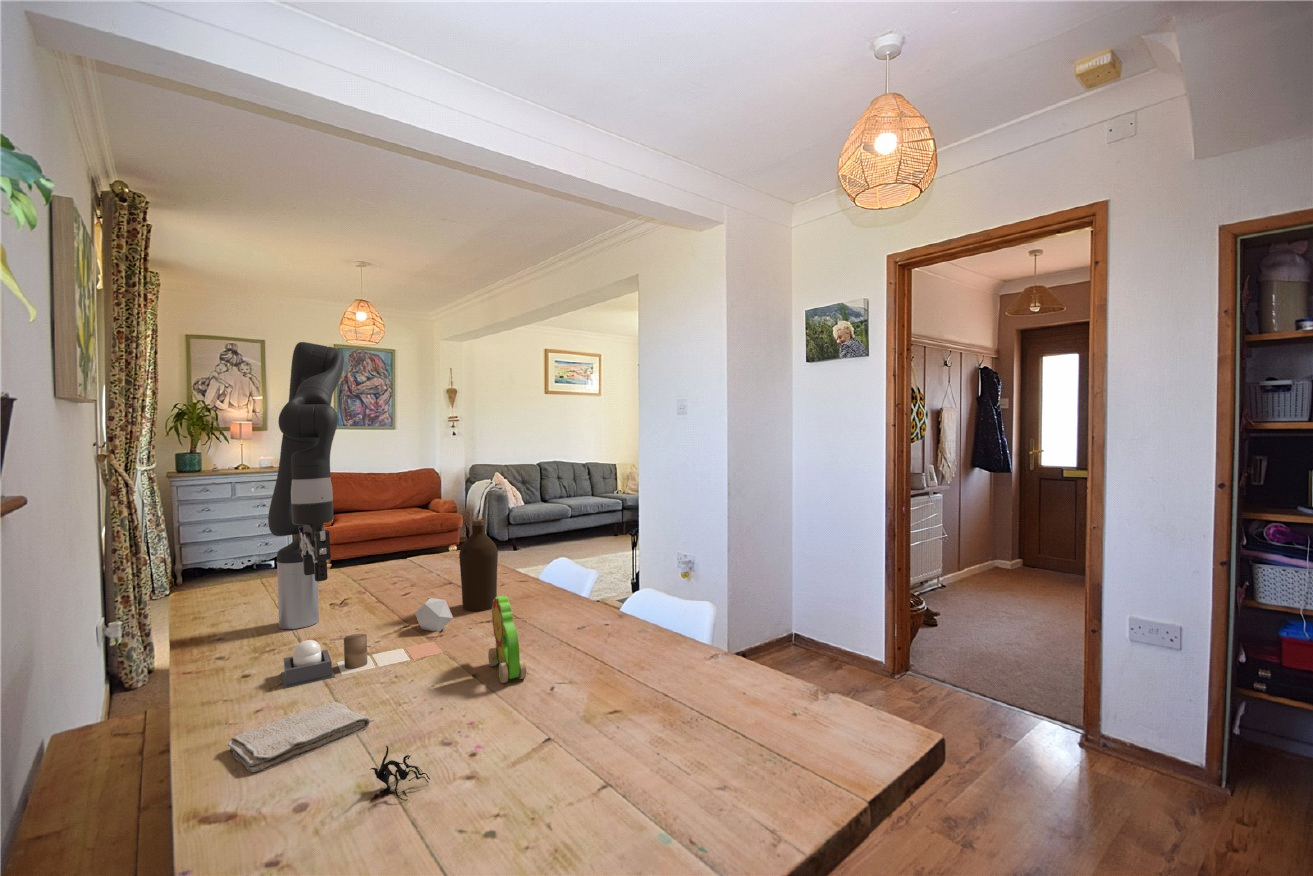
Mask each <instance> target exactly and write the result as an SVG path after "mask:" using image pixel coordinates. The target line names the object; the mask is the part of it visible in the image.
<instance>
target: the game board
mask: <svg viewBox="0 0 1313 876" xmlns="http://www.w3.org/2000/svg"><path fill="white" fill-rule="evenodd" d="M405 650H406V651H407V652H405ZM405 650H404V649H403V648H397V649H393V650H389V651H382V652H378V653H374V654H371V655H372V657H373V659H374V661H375V663H376V665H377V667H378V668H380V667H385V666H390V665H394V664H400V663H403V662H408V661H411V658H412V659H413V660H417V659H422V658H426V657H430V656H435V655H439V654H443V653H444V651H442V649H441V648H440V647H439V646H438V645H437V644H436V643H435V641H432V642H427V643H420V644H416V645H412V646H407V647H405ZM407 653H408V654H409V655H410V657H409V656H408V654H407ZM371 655H368V654H367V664H366V665H365V666H363V667H360V668H355V669H347V668H345V664H344V660H340V661H337V662H336V663H337V666H338V668H339V671H340V674H341V676H346V675H348V674H353V673H359V672H362V671H367V670H371V669H376V666H375V664H374V662H373V660H372V658H371Z"/></svg>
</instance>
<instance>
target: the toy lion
mask: <svg viewBox="0 0 1313 876" xmlns="http://www.w3.org/2000/svg"><path fill="white" fill-rule="evenodd" d="M491 615H492V616H491V623H492V627H493V636H494V638H495V647H492V648H489V649H488V652H487V653H488V654H487V657H488V664H489V667H496V666H497V664H498V677H499V683H501V684H505V683H508V681H509V680H512V679H515V678H518V679H519V680H522V679H523V680H524V679H526V677H527V664H526V662H525V660H524V659H520V658H521V657H520V642H519V636H518V632H517V628H516V625H515V623H514V619H513V612H512V606H511V603H510V601H509V597H508V596H506V595H499V596H498V595H497V597H495V599H494V600H493V606H492V608H491Z"/></svg>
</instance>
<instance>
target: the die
mask: <svg viewBox="0 0 1313 876" xmlns="http://www.w3.org/2000/svg"><path fill="white" fill-rule="evenodd" d="M414 615H415V617H416V619H417V622H418V624H419V626H420V629H421V630H425V631H430V632H436V631H437V632H438V633H439V632H441V631H442V630H443V629H444V628H445V627H446V626H447V625H448V624H449V623H450V622H451V621H452V619H454V616H453V614H452V612H451V609H450V607H449V605H448V603H447V601H446V599H441V598H433V597H430V598H428V600H426V601H425V603H423V604H422V605H421V606H420V607H419V608H418V609H417V610H416V611H414Z"/></svg>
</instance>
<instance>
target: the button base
mask: <svg viewBox="0 0 1313 876" xmlns="http://www.w3.org/2000/svg"><path fill="white" fill-rule="evenodd" d="M332 665H333V664H332V659H331V655H330V653H329V651H328V649H324V650H321V662H318V663H313V664H309V665H304V666H299V667H294V668H293V656H288V657H284V658H283V671H281V673H280V675H281V681H282V688H283V689H288V688H292V687H297V686H302V685H306V684H311V683H315V682H320V681H323V680H329V679H334V678H336V675H335V672H334V670H333V667H332Z"/></svg>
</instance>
